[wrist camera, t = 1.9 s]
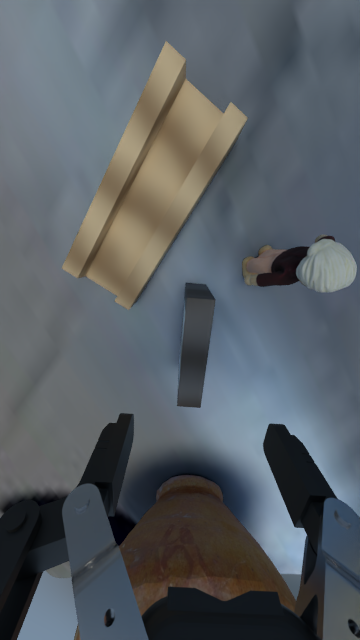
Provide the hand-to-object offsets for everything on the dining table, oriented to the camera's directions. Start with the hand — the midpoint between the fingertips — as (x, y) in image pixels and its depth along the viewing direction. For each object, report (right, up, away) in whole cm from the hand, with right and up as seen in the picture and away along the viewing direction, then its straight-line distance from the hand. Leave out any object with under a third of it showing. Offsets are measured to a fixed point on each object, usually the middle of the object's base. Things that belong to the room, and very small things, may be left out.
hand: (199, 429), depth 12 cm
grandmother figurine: (+9, +14, +12) cm, 20 cm away
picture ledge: (-5, +19, +10) cm, 22 cm away
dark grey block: (0, +5, +15) cm, 16 cm away
